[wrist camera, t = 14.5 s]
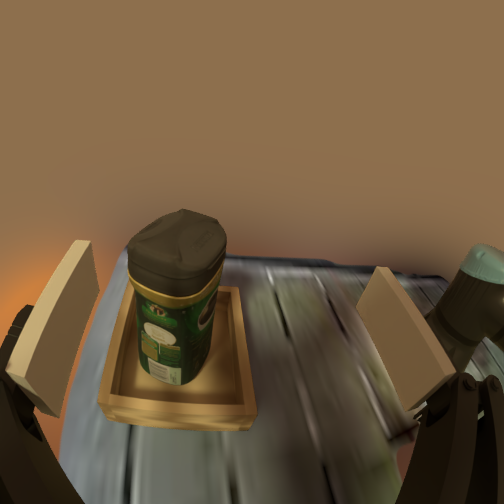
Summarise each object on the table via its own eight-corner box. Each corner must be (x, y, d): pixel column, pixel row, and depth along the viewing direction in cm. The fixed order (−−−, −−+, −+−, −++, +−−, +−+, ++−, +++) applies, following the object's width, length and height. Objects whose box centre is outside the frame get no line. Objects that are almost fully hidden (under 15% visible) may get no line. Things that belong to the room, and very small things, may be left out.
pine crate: (232, 311, 43) (238, 287, 41) (248, 430, 27) (257, 414, 24) (132, 301, 40) (129, 276, 37) (107, 419, 23) (97, 401, 21)
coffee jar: (165, 320, 37) (170, 196, 27) (216, 341, 36) (242, 217, 26) (129, 368, 29) (108, 234, 19) (187, 397, 28) (198, 269, 18)
